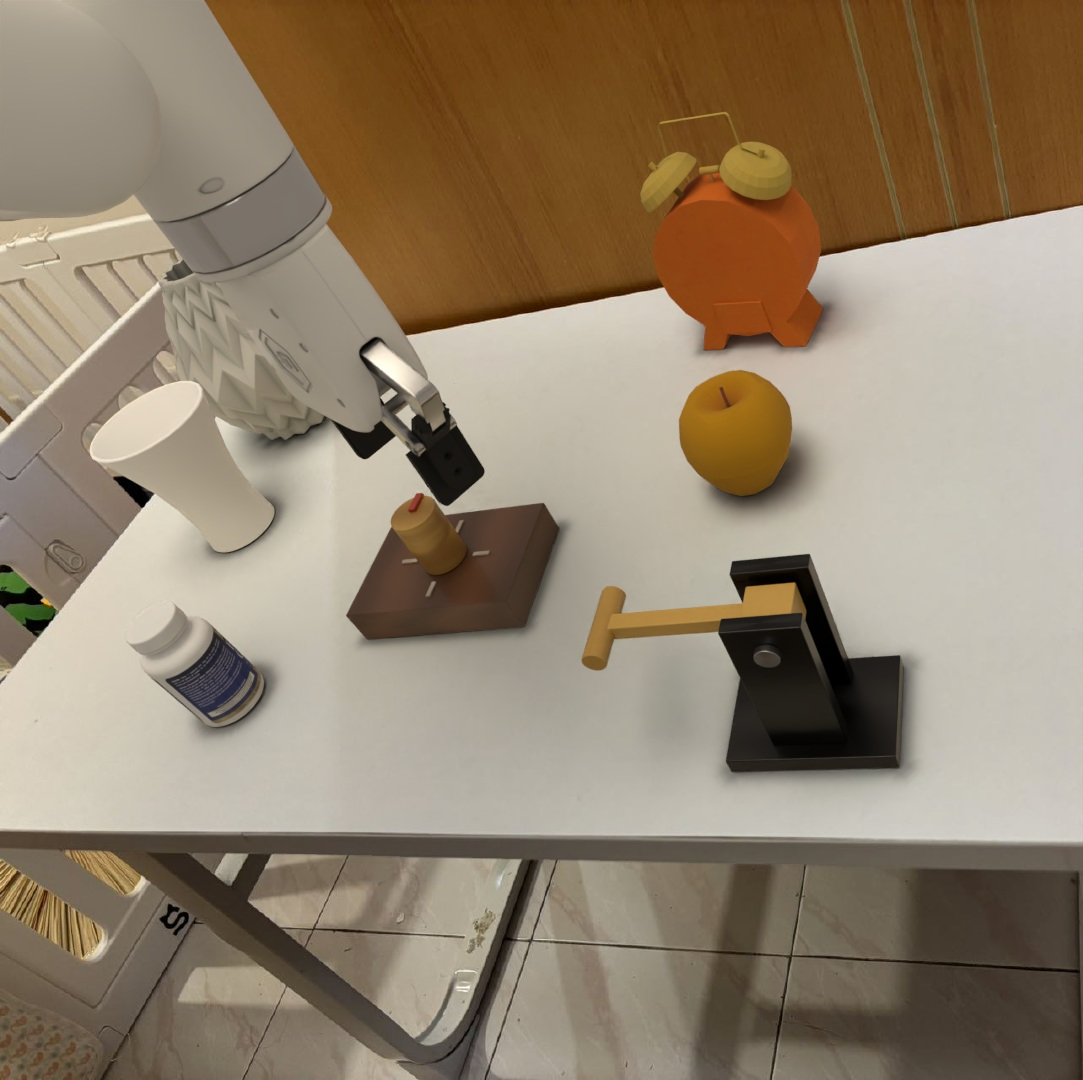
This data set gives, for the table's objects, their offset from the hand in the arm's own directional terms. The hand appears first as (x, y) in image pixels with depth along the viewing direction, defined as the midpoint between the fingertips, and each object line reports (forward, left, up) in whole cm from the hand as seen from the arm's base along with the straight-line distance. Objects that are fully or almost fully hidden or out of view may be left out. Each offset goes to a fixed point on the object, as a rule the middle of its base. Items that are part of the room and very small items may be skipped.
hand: (420, 465), depth 62 cm
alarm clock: (+12, +34, -17) cm, 40 cm away
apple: (+14, +14, -17) cm, 26 cm away
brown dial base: (-9, +6, -17) cm, 20 cm away
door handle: (+17, -8, -8) cm, 20 cm away
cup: (-37, +16, -17) cm, 44 cm away
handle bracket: (+21, -8, -17) cm, 29 cm away
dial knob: (-9, +6, -14) cm, 17 cm away
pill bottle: (-26, -4, -17) cm, 31 cm away
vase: (-39, +33, -17) cm, 54 cm away
